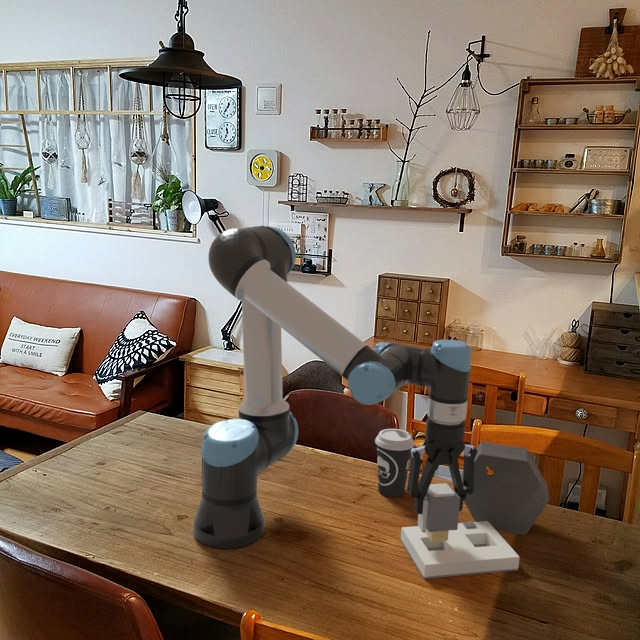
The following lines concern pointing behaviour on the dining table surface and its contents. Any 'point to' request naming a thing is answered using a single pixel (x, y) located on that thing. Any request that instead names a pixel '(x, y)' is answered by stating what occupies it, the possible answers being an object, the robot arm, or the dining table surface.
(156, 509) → the dining table surface
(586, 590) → the dining table surface
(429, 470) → the robot arm
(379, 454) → the coffee cup
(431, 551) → the socket plate
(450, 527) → the plug
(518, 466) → the grey hexagonal prism
